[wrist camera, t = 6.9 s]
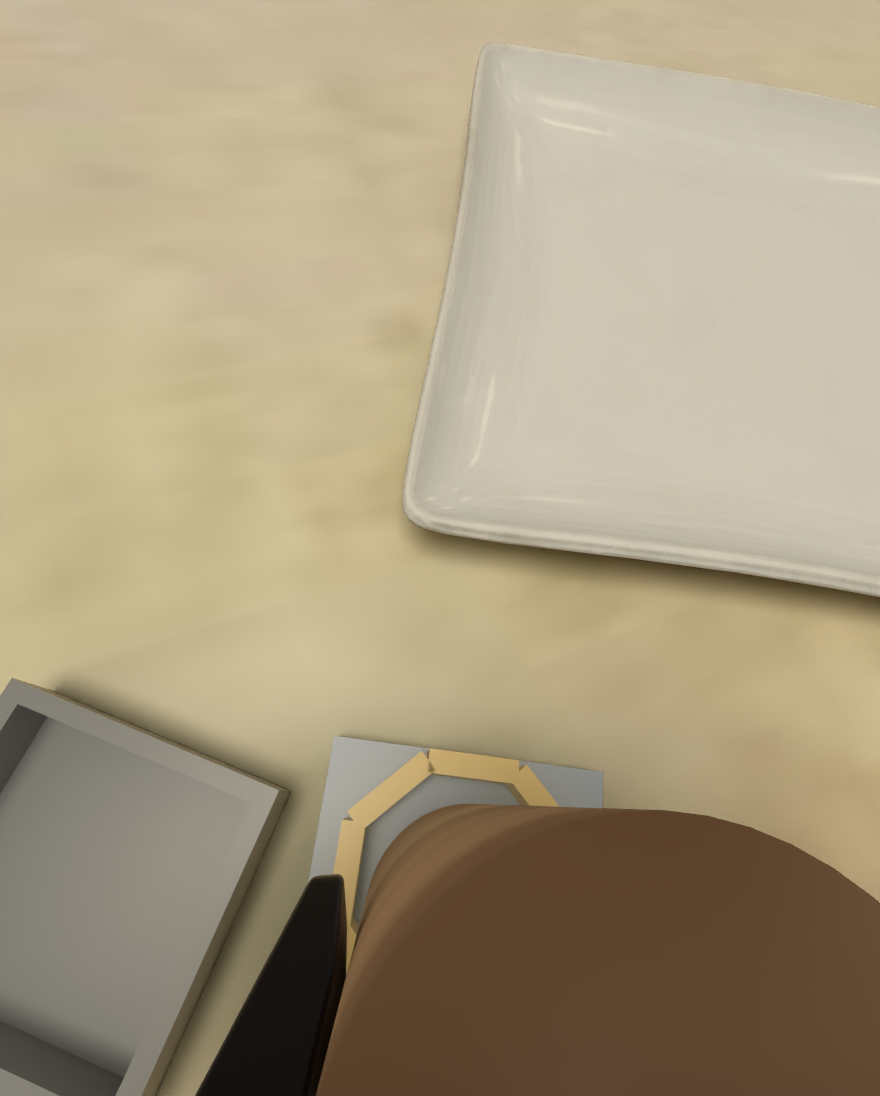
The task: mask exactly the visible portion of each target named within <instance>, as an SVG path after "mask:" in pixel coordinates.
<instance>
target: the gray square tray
mask: <svg viewBox="0 0 880 1096" xmlns="http://www.w3.org/2000/svg"><path fill="white" fill-rule="evenodd" d="M290 793H291V791H290V790H288V789H285V788H283V787H281V786H278V785H276V784H273V783H271V782H269V781H266V780H264V779H261V778H259V777H257V776H254V775H252V774H250V773H247V772H245V771H242V770H240V769H238V768H235V767H233V766H231V765H228V764H226V763H223V762H221V761H219V760H216V759H214V758H212V757H209V756H207V755H204V754H202V753H200V752H197V751H195V750H192V749H190V748H188V747H185V746H183V745H181V744H178V743H176V742H173V741H171V740H169V739H166V738H164V737H162V736H159V735H157V734H154V733H152V732H150V731H147V730H145V729H143V728H140V727H138V726H135V725H133V724H131V723H128V722H126V721H123V720H121V719H119V718H116V717H114V716H112V715H109V714H107V713H104V712H102V711H100V710H97V709H95V708H93V707H90V706H88V705H85V704H83V703H81V702H78V701H76V700H74V699H71V698H69V697H66V696H64V695H62V694H59V693H57V692H54V691H52V690H49V689H46V688H42V687H39V686H36V685H33V684H30V683H26V682H23V681H20V680H17V679H14V678H12V679H11V680H10V682H9V683H8V685H7V686H6V688H5V690H4V691H3V693H2V694H1V696H0V1096H156V1095H157V1092H158V1090H159V1088H160V1086H161V1083H162V1081H163V1079H164V1077H165V1074H166V1072H167V1070H168V1068H169V1065H170V1063H171V1061H172V1058H173V1056H174V1054H175V1052H176V1049H177V1047H178V1045H179V1043H180V1040H181V1038H182V1036H183V1034H184V1031H185V1029H186V1027H187V1025H188V1022H189V1020H190V1018H191V1016H192V1013H193V1011H194V1009H195V1007H196V1004H197V1002H198V1000H199V998H200V995H201V993H202V991H203V989H204V986H205V984H206V982H207V980H208V977H209V975H210V973H211V971H212V968H213V966H214V964H215V962H216V959H217V957H218V955H219V953H220V950H221V948H222V946H223V944H224V941H225V939H226V937H227V935H228V932H229V930H230V928H231V926H232V923H233V921H234V919H235V917H236V914H237V912H238V910H239V908H240V905H241V903H242V901H243V899H244V896H245V894H246V892H247V890H248V887H249V885H250V883H251V881H252V878H253V876H254V874H255V872H256V869H257V867H258V865H259V863H260V860H261V858H262V856H263V854H264V851H265V849H266V847H267V845H268V842H269V840H270V838H271V835H272V833H273V831H274V829H275V826H276V824H277V822H278V820H279V817H280V815H281V813H282V811H283V808H284V806H285V804H286V802H287V799H288V797H289V795H290Z"/></svg>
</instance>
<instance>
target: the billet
mask: <svg viewBox="0 0 880 1096" xmlns="http://www.w3.org/2000/svg"><path fill="white" fill-rule="evenodd" d="M316 1096H880V903H879V902H878V901H877V900H876V899H875V898H874V897H872V896H871V895H869V894H868V893H867V892H865V891H864V890H863V889H861V888H860V887H858V886H857V885H856V884H854V883H853V882H852V881H850V880H849V879H848V878H846V877H845V876H843V875H842V874H841V873H839V872H838V871H837V870H835V869H834V868H832V867H830V866H829V865H827V864H825V863H823V862H822V861H820V860H818V859H816V858H815V857H813V856H811V855H809V854H808V853H806V852H804V851H802V850H800V849H799V848H797V847H795V846H793V845H792V844H789V843H787V842H784V841H782V840H779V839H777V838H775V837H772V836H770V835H767V834H765V833H763V832H760V831H758V830H755V829H753V828H751V827H747V826H743V825H740V824H736V823H732V822H729V821H725V820H721V819H717V818H714V817H710V816H705V815H697V814H689V813H681V812H673V811H665V810H637V809H608V808H580V807H552V806H523V805H495V804H457V805H451V806H446V807H443V808H439V809H436V810H434V811H431V812H429V813H427V814H425V815H423V816H421V817H420V818H418V819H417V820H415V821H414V822H412V823H411V824H410V825H408V826H407V827H406V828H405V829H404V830H403V831H401V832H400V833H399V835H398V836H397V837H396V838H395V839H394V840H393V841H392V842H391V844H390V845H389V846H388V848H387V849H386V851H385V852H384V854H383V855H382V857H381V859H380V861H379V863H378V865H377V866H376V869H375V871H374V874H373V876H372V879H371V881H370V885H369V889H368V893H367V896H366V900H365V904H364V908H363V912H362V916H361V920H360V924H359V928H358V932H357V936H356V940H355V944H354V948H353V951H352V955H351V959H350V963H349V967H348V971H347V975H346V979H345V983H344V987H343V991H342V995H341V999H340V1003H339V1007H338V1011H337V1014H336V1018H335V1022H334V1026H333V1030H332V1034H331V1038H330V1042H329V1046H328V1050H327V1054H326V1058H325V1062H324V1066H323V1070H322V1074H321V1077H320V1081H319V1085H318V1089H317V1093H316Z"/></svg>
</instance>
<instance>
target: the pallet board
mask: <svg viewBox="0 0 880 1096" xmlns="http://www.w3.org/2000/svg"><path fill="white" fill-rule="evenodd" d="M457 804H495V805H523V806H552V807H580V808H602V805H603V772H601V771H593V770H586V769H578V768H571V767H563V766H556V765H548V764H541V763H534V762H526V761H519V760H514V759H507V758H499V757H492V756H484V755H477V754H469V753H462V752H454V751H447V750H439V749H432V748H430V749H429V748H422V747H414V746H407V745H399V744H392V743H384V742H377V741H369V740H362V739H355V738H347V737H340V736H334V740H333V745H332V751H331V757H330V762H329V768H328V773H327V779H326V785H325V790H324V796H323V801H322V807H321V813H320V818H319V824H318V829H317V835H316V841H315V846H314V852H313V857H312V863H311V869H310V874H309V880H308V883H309V881H310V880H311V879H312V878H313V877H314V876H318V875H331V874H340V875H342V877H343V879H344V888H345V901H346V915H347V961H346V975H347V971H348V967H349V963H350V959H351V955H352V951H353V948H354V944H355V940H356V936H357V932H358V928H359V924H360V920H361V916H362V912H363V908H364V904H365V900H366V896H367V893H368V889H369V885H370V881H371V879H372V876H373V874H374V871H375V869H376V866H377V865H378V863H379V861H380V859H381V857H382V855H383V854H384V852H385V851H386V849H387V848H388V846H389V845H390V844H391V842H392V841H393V840H394V839H395V838H396V837H397V836H398V835H399V833H400V832H401V831H403V830H404V829H405V828H406V827H407V826H408V825H410V824H411V823H412V822H414V821H415V820H417V819H418V818H420V817H421V816H423V815H425V814H427V813H429V812H431V811H434V810H436V809H439V808H443V807H446V806H451V805H457Z"/></svg>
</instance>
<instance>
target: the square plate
mask: <svg viewBox="0 0 880 1096" xmlns="http://www.w3.org/2000/svg"><path fill="white" fill-rule="evenodd" d="M403 510H404V513H405V515H406V516H407V518H408V520H409V521H411V522H412V523H413V524H415V525H417V526H419V527H420V528H424V529H427V530H431V531H435V532H440V533H444V534H449V535H454V536H460V537H466V538H473V539H479V540H486V541H492V542H499V543H505V544H513V545H521V546H530V547H538V548H547V549H555V550H563V551H572V552H580V553H589V554H597V555H605V556H614V557H622V558H631V559H639V560H646V561H654V562H661V563H668V564H676V565H683V566H691V567H698V568H705V569H713V570H720V571H728V572H735V573H742V574H748V575H754V576H760V577H766V578H772V579H778V580H785V581H791V582H797V583H803V584H809V585H815V586H821V587H827V588H832V589H838V590H843V591H849V592H854V593H860V594H865V595H871V596H876V597H880V107H878V106H874V105H869V104H864V103H859V102H855V101H850V100H845V99H840V98H834V97H829V96H824V95H818V94H813V93H808V92H803V91H797V90H792V89H786V88H781V87H775V86H770V85H764V84H759V83H753V82H747V81H741V80H736V79H730V78H724V77H718V76H713V75H707V74H701V73H695V72H689V71H683V70H677V69H670V68H664V67H658V66H651V65H645V64H638V63H631V62H625V61H618V60H611V59H605V58H598V57H591V56H584V55H578V54H571V53H563V52H556V51H549V50H543V49H537V48H531V47H525V46H519V45H512V44H503V43H490V44H487V45H485V46H484V47H483V48H482V50H481V52H480V55H479V59H478V63H477V68H476V73H475V79H474V85H473V92H472V101H471V110H470V118H469V127H468V136H467V145H466V154H465V162H464V169H463V175H462V183H461V190H460V198H459V204H458V211H457V218H456V224H455V231H454V237H453V242H452V247H451V253H450V258H449V264H448V269H447V275H446V280H445V285H444V290H443V294H442V299H441V304H440V308H439V313H438V318H437V323H436V327H435V332H434V337H433V341H432V346H431V350H430V355H429V360H428V364H427V369H426V373H425V378H424V382H423V387H422V391H421V396H420V401H419V405H418V410H417V414H416V419H415V424H414V428H413V433H412V438H411V443H410V448H409V453H408V458H407V463H406V470H405V478H404V486H403Z"/></svg>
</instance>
